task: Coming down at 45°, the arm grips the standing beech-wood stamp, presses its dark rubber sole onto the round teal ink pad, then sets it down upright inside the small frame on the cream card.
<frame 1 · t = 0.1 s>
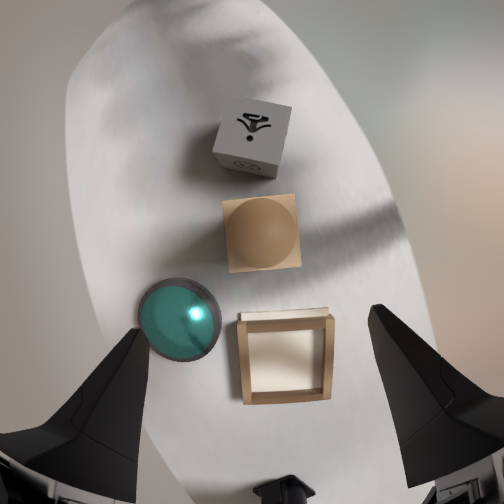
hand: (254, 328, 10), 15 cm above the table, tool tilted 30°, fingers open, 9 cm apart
dice cube: (255, 148, 24), on the table
stamp: (263, 234, 25), on the table
ink pad: (181, 318, 25), on the table
frame: (286, 359, 25), on the table
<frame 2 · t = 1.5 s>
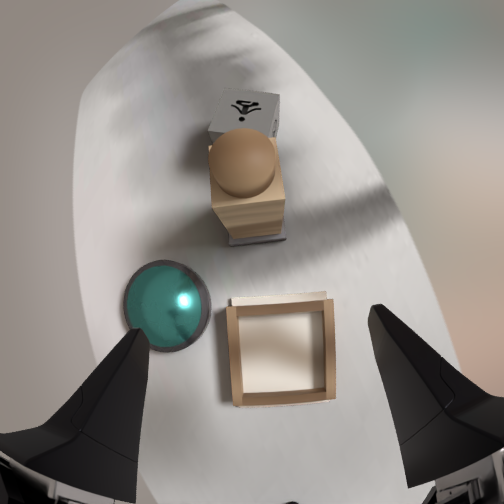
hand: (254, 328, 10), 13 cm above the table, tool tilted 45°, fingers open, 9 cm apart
dice cube: (249, 141, 26), on the table
stamp: (255, 216, 24), on the table
ink pad: (168, 306, 24), on the table
frame: (282, 352, 22), on the table
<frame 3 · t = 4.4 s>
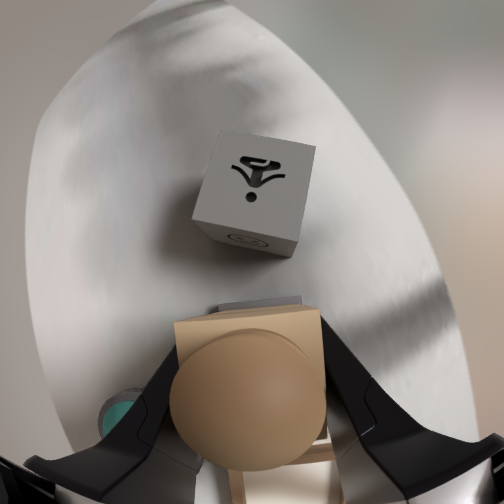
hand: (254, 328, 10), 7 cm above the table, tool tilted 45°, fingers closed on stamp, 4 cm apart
dice cube: (260, 212, 18), on the table
stamp: (264, 339, 16), on the table, touching gripper
ink pad: (153, 436, 15), on the table
frame: (293, 486, 14), on the table
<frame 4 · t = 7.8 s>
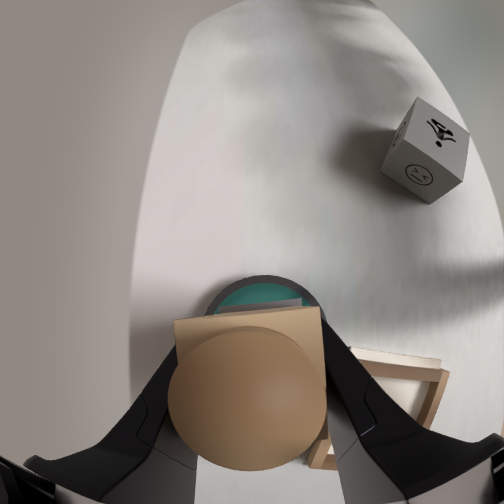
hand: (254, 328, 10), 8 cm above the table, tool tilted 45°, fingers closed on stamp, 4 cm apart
dice cube: (412, 166, 19), on the table
stamp: (264, 341, 16), point 2 cm above the table, touching gripper, ink pad
ink pad: (265, 336, 18), on the table
frame: (378, 416, 16), on the table
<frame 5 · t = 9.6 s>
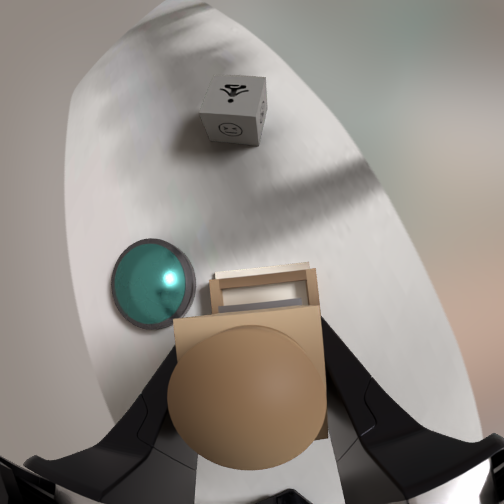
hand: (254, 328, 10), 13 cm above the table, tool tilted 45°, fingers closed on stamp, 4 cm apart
dice cube: (239, 125, 26), on the table
stamp: (264, 341, 16), point 7 cm above the table, touching gripper
ink pad: (154, 284, 24), on the table
frame: (267, 326, 23), on the table
when the fingers open (8 cm above the table, at t = 11.1 s): stamp stays where it is, resting on frame.
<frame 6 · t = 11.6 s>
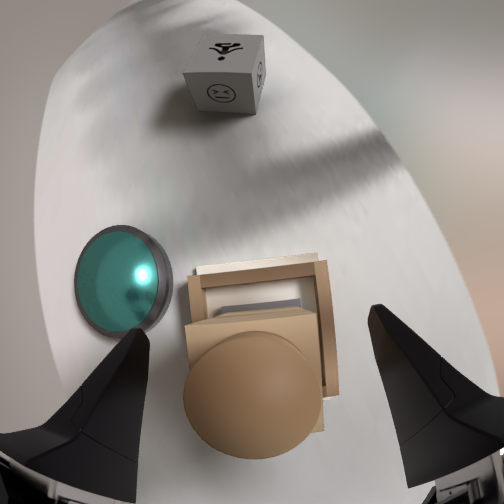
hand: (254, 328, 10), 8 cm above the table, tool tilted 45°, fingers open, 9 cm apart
dice cube: (233, 93, 21), on the table
stamp: (265, 339, 17), resting on frame
ink pad: (124, 282, 19), on the table
frame: (264, 336, 17), on the table
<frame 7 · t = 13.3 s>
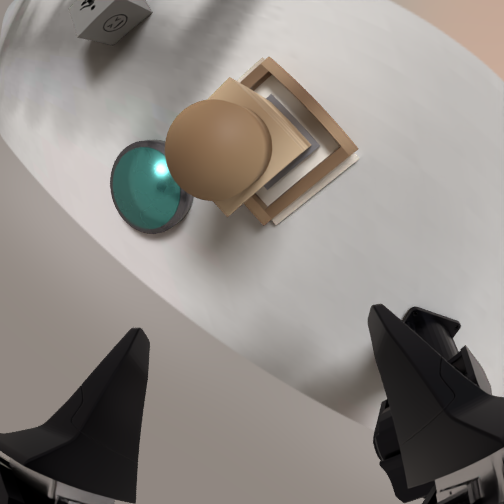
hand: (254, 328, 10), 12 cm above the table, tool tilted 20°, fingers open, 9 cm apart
dice cube: (126, 15, 16), on the table
stamp: (271, 141, 18), resting on frame
ink pad: (153, 185, 22), on the table
frame: (271, 140, 19), on the table
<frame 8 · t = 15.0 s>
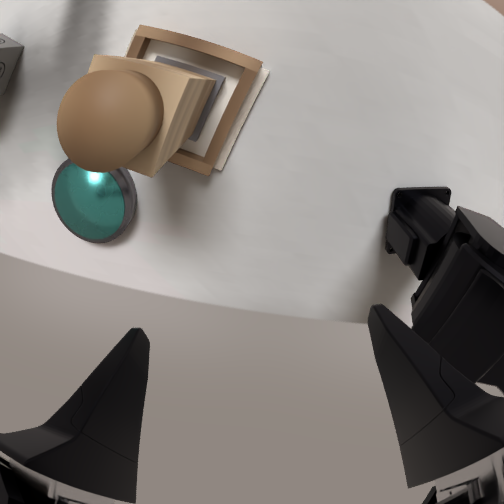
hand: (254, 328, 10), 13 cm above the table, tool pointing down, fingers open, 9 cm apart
dice cube: (3, 62, 11), on the table
stamp: (179, 96, 16), resting on frame
ink pad: (95, 194, 20), on the table
frame: (178, 96, 16), on the table
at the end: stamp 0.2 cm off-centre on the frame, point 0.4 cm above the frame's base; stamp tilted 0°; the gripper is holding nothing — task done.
